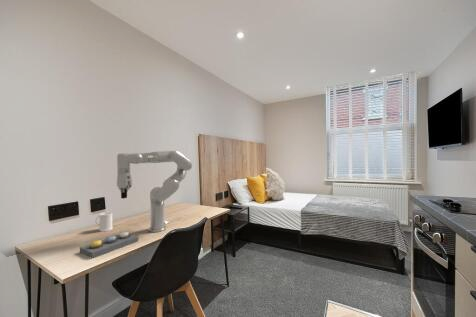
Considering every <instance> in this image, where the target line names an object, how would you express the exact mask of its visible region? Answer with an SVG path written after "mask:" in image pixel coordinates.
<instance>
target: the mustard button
mask: <svg viewBox="0 0 476 317" xmlns="http://www.w3.org/2000/svg"><path fill="white" fill-rule="evenodd" d="M101 240H102V239H101ZM101 240H100V239H99V240H98V239H97V240H96V239H95V240H93V241H91V242H90V244H91V247H98V246H101V243H102V241H101Z"/></svg>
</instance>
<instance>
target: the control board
mask: <svg viewBox="0 0 476 317" xmlns="http://www.w3.org/2000/svg"><path fill="white" fill-rule="evenodd" d="M115 236H116V240H115V241H113V242H106V238H105V239H101V241H102V243H101V246H98V247H91V243H89V244H86V245H82V246H80V247H79V253H80V254H82V255H84V256H86V257H88V258H90V257H91V258H90V259H92V258H93V259H95V258H97V257H101V256H103V255H105V254H108V253H110V252H114V251H116V250H120V249H122V248H124V247H127V246H129V245H133V244H134V243H137V242H139V236H137V235H134V234H130V233H129V236H128V237H124V238H120V234H117V235H115Z"/></svg>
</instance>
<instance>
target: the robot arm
mask: <svg viewBox="0 0 476 317" xmlns="http://www.w3.org/2000/svg"><path fill="white" fill-rule="evenodd" d="M116 157H117V158H116V159H117V160H116V161H117V165H116V166H117V175H116V186H117V188H118V190H119V191H120V198H121V199H127V198H128V191H129V190H130V189H131V188H132V186H133V182H132V181H133V180H132V176H131V164H133V165H134V164H135V165H138V164H148V163H149V164H161V163H173V162H174V163H175V164H176V171H175V172H174V173H173V174H172V175H170V176H169V177H168V178H166V179H164V181H163V182H162V186H161V187H160V186H159V187H158V186H156V187H153V188H152V189H151V191H150V193H149V198H150V227H149V228H148V231H149V232H150V233H158V232H159V233H160V232H163V231H165V230H166V229H167V225H169V224H170V221H168V220H167V221H165V201H167V200H168V199H169V198H170V197H172V196H173V194H175V193H176V192H177V191H178V190H179V188H180V183H181V182H182V181H183V180H184V179H185V178H186V176H187V172H188V171H190V170H191V169H192V167H193V162H192V161H191V160H190V159H189V158H187V157H186V156H185V155H184V154H182V153H181V152H179V151H178V150H168V151H167V150H165V151H152V152H146V153H145V152H144V153H143V152H142V153H138V152H134V153H118V154H117V156H116Z"/></svg>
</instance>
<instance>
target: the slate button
mask: <svg viewBox="0 0 476 317" xmlns="http://www.w3.org/2000/svg"><path fill="white" fill-rule="evenodd" d="M116 236H117V235H109V236H106V237H105V239H106V242H113V241H115V240H116Z"/></svg>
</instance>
